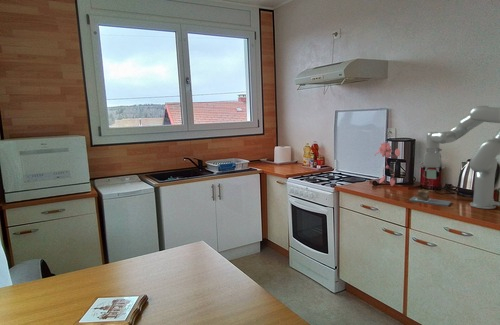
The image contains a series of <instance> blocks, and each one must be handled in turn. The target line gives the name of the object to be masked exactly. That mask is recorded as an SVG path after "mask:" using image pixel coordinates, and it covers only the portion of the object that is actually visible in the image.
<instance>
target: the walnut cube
mask: <svg viewBox="0 0 500 325" xmlns="http://www.w3.org/2000/svg"><path fill="white" fill-rule="evenodd" d="M416 195H417V196H416V197H417V200H423V201H427V200H428V199H430V190H425V189H424V190H423V189H419V190H418V191H417V194H416Z"/></svg>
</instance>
